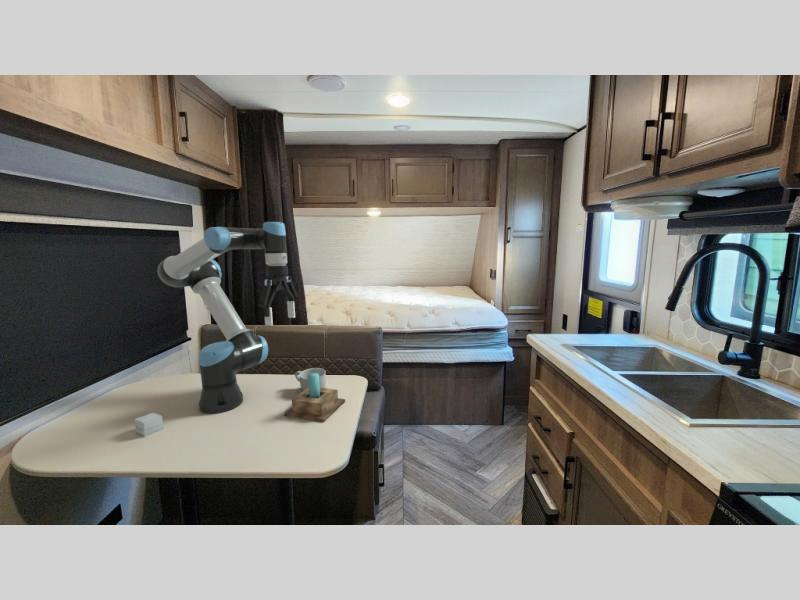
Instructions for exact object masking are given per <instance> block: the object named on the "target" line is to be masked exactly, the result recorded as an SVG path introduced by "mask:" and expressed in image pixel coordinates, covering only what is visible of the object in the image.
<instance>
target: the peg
mask: <svg viewBox="0 0 800 600" xmlns="http://www.w3.org/2000/svg"><path fill="white" fill-rule="evenodd" d="M308 388H309V397H310V398H319V397H320V384H319V374H318V373H311V374H309V375H308Z"/></svg>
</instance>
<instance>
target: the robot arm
mask: <svg viewBox="0 0 800 600" xmlns="http://www.w3.org/2000/svg"><path fill="white" fill-rule="evenodd" d="M287 248H288V247H287V231H286V226H285V223H284V222H281V221H266V222H263V223H262V228H252V227H251V228H250V227H249V228H245V227H226V226H215V227H214V226H212V227H208V228H207V229H206V230H205V232H204V235H203V238H202V239H200V240H199V241H197V242H195V243H194V244H192V245H191V246H189V247H188V248H186V249H185V250H183V251H181V252H180V253H178V254H177V255H171V256H168V257H166V258H165V259H164V260H163V259H162V261H161V262H160V263H159V264H158V267H157V275H158V278H159V279H160V280H161V282H162V283H164V284H166V285H167V286H169V287H173V288H184V287H189V288H190V289H191V290H192V292H193V293H194V294H196V295H197V294H198V295H199V296H200V298H201V300H202V301H203V303H204V305H205V306H206V307H207V309H208V311H209V312H210V315H212V318H213V319H214V321H215V323H216V324H217V327H219V329H220V330H221V331H220V332H222V334H223V336H224V338H225V339H226V340H224V341H219V342H217V341H216V342H213V343H211V344H210V343H209V344H208V345H206V346H204V347H203V348H201V350H199V353H198V364H199V370H200V379H201V392H200V393H201V394H200V399H199V401H198V409H199V411H200V412H201V413H204V414H219V413H224V412H227V411H230V410H231V411H232V410H233V409H235V408H237V407H239V406H241V405H242V403H243V402H244V395H243V392H242V391H241V388H240V386H239V384H238V380H237V373H239V372H242V371H245V370H247V369H249V368H252V367H255V366H258V365H259V364H261V363H263V362H264V361H266V360H267V357H268V354H269V347H268V346H269V345H268V342H267V340H266V338H265V337H263V336H261V335H256V334H255V333H254V331H253V330H252V329H249V328H247V327H246V326H245V324H244V323H243V320H242V319H241V317H240V316H239V314H238V312H237V311H236V309H235V307H234V305H233V304H232V302H231V301H230V300H229V297H228V296H227V295H226V293H225V292H224V290H223V288H222V287H221V283H222V280H221V279H222V276H223V275H222V274H223V273H222V272H221V271H222V270H221V267H220V265H219V263H218V262H217V261H216V260H214V259H215V258H217V257H219V256H221V255H222V254H224V253H226V252H228V251H231V250H262V249H264V258H265V264H266V265H267V266H266V267H265V268H266V276H268V277H269V278H268V279H263V280H262V288H261V293H260V295H259V296H260V297H259V301H258V305H257V306H258V307H259V308H260V309H261V308H262V309H263V317H264V325H265V326H271V327H272V326H274V324H273V323H274V322H273V311H272V310H273V308H272V307H271V306H272V303H273V300H274V298H275V296H276V293H277V292H278V291H281V292H282V293H283V294H284V296H285V297H286V299H287V301H286V303H287V304H286V305H287V317H288V318H291V319H292V318H293V319H295V318H296V311H295V309H296V303H295V302H297V301H298V299H299V296H298V292H297V290H296V288H295V285H294V282H293V278H292V276H289V266H288V265H287V264H288V251H287Z"/></svg>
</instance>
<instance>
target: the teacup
mask: <svg viewBox="0 0 800 600" xmlns="http://www.w3.org/2000/svg"><path fill="white" fill-rule="evenodd" d="M311 373H318V374H319V384H320V388H325V386H326V385H327V376H326V370H325V369H323V368H320V367H311V368H307V369H305V370H298V371H296V372H295V373H294V376H295V379H296V381H298V382H299V385H300V388H301V390H302V392H303V391H304V390H306V389H307V388H308V375H309V374H311Z"/></svg>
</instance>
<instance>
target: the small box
mask: <svg viewBox="0 0 800 600" xmlns="http://www.w3.org/2000/svg"><path fill="white" fill-rule="evenodd" d="M163 424H164V423H163V416H162V415H160V414H158V413H156V412H151V413H148V414H147V413H146V414H145V415H143V416H140V417H137V418H135V419H134V425H135V431H136V434H138V435H141V436H142V437H145V438H147V437H148V436H151V435H153V434H155V433H158V432H160V431H162V430H164V425H163Z"/></svg>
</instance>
